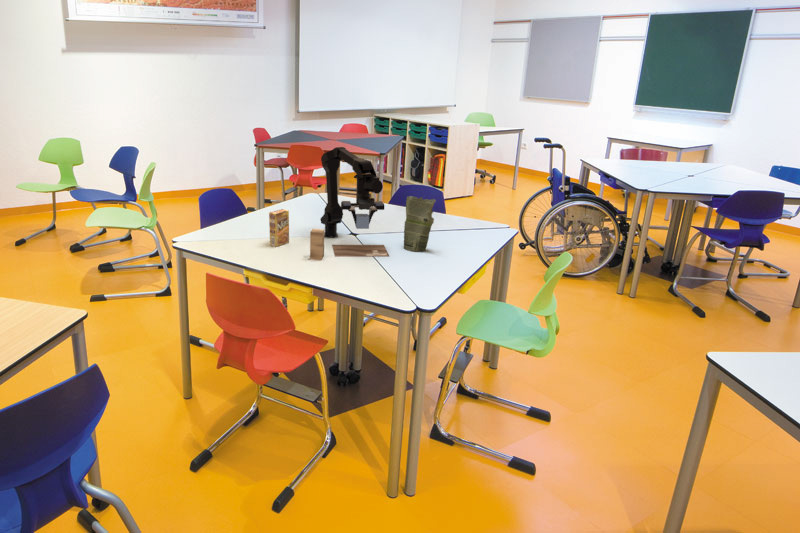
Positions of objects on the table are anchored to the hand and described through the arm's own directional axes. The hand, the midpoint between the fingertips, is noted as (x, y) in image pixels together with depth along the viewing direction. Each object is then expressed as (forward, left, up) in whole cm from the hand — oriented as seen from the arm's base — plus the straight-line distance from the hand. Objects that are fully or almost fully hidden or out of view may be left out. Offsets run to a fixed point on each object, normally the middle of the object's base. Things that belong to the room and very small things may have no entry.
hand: (362, 224), depth 251 cm
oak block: (+12, -20, -12) cm, 26 cm away
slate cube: (0, 0, -1) cm, 1 cm away
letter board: (+4, -1, -12) cm, 12 cm away
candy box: (-7, -36, -12) cm, 39 cm away
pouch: (+1, +26, -12) cm, 28 cm away
